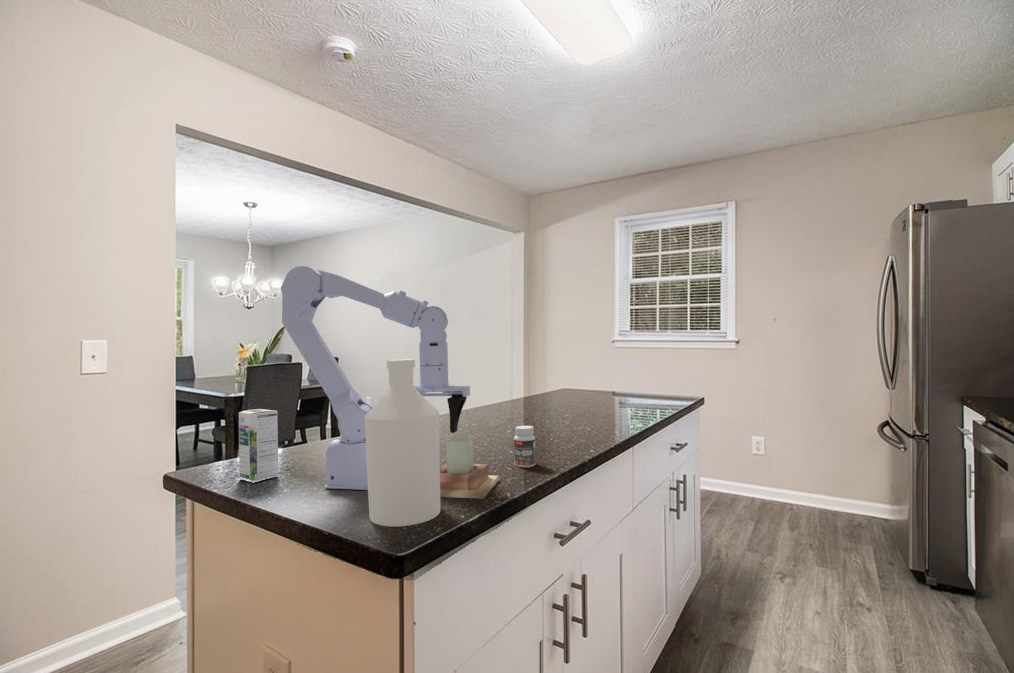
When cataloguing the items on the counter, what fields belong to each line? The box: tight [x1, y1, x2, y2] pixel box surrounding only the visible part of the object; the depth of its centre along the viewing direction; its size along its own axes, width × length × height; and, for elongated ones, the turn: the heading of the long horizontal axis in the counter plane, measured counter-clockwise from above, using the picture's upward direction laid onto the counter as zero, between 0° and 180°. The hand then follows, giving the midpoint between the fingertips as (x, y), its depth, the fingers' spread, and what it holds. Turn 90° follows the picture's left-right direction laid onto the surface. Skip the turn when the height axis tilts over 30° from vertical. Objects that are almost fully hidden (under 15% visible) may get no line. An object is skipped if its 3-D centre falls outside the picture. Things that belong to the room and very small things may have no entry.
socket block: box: [440, 462, 500, 500], centre depth 92 cm, size 12×11×4 cm
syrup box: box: [238, 408, 279, 481], centre depth 103 cm, size 6×6×14 cm
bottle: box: [365, 358, 441, 527], centre depth 80 cm, size 12×12×25 cm
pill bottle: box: [513, 425, 537, 468], centre depth 108 cm, size 5×5×8 cm
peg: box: [445, 437, 475, 474], centre depth 93 cm, size 4×4×8 cm
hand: (435, 431), depth 100 cm, fingers open, 7 cm apart
